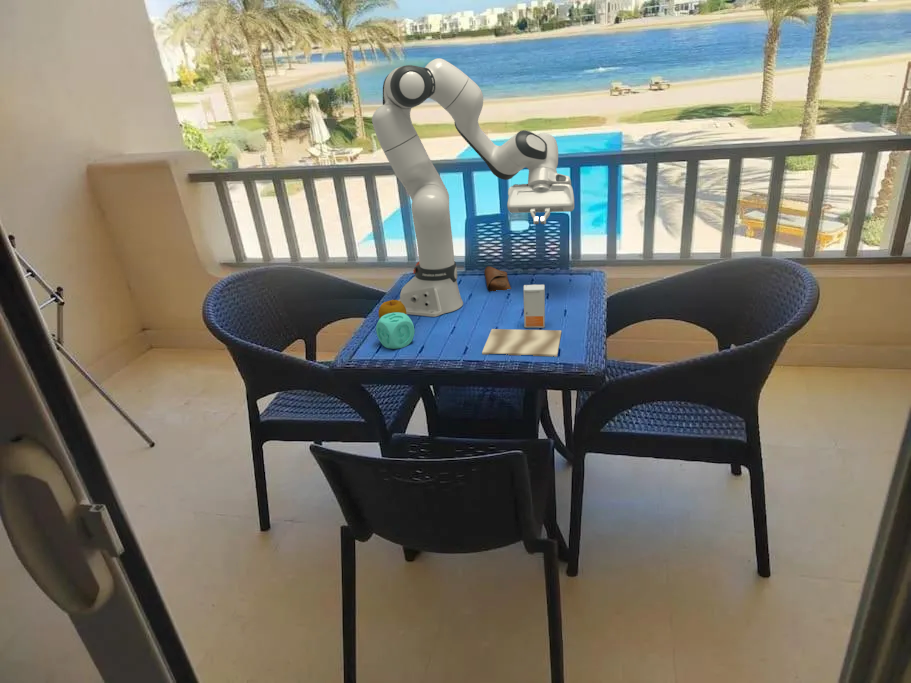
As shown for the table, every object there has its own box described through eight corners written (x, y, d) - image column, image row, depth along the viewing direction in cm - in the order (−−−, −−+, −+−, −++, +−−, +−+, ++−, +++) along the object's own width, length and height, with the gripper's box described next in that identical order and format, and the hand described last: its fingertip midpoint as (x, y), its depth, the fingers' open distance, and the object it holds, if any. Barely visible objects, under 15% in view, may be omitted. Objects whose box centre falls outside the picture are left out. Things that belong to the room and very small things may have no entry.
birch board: (482, 354, 165) (481, 352, 165) (491, 330, 178) (491, 329, 178) (557, 356, 160) (557, 354, 160) (561, 332, 173) (561, 330, 173)
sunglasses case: (513, 289, 206) (502, 274, 204) (495, 301, 208) (484, 286, 206) (507, 272, 223) (497, 257, 220) (491, 283, 224) (481, 268, 222)
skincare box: (524, 328, 178) (522, 289, 173) (524, 322, 181) (523, 284, 176) (545, 328, 177) (544, 289, 172) (545, 322, 180) (544, 284, 175)
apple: (388, 321, 191) (385, 295, 187) (413, 323, 188) (410, 296, 184) (375, 332, 184) (371, 305, 180) (401, 335, 181) (397, 307, 177)
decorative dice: (400, 334, 181) (396, 309, 178) (416, 342, 175) (413, 316, 172) (377, 343, 177) (373, 318, 173) (393, 351, 171) (390, 325, 168)
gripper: (507, 179, 188) (503, 218, 184) (575, 176, 183) (573, 217, 179) (510, 190, 194) (506, 229, 190) (575, 188, 189) (573, 227, 185)
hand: (539, 223), depth 184 cm, fingers closed
